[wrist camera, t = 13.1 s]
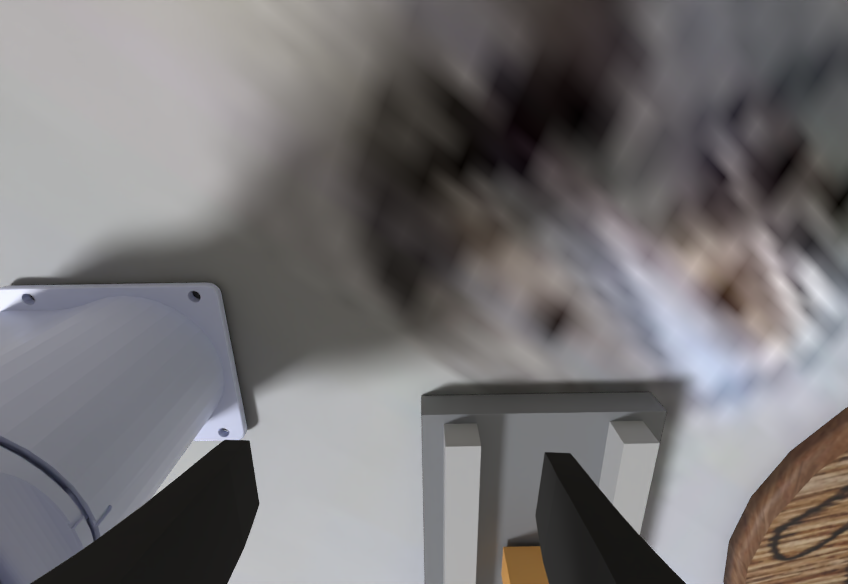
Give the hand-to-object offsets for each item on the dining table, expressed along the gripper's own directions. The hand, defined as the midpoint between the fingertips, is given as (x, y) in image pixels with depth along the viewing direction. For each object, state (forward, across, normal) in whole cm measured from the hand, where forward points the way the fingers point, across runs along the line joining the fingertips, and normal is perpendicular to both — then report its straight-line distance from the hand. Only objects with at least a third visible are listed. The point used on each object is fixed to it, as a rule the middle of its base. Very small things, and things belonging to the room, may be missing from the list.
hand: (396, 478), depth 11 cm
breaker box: (+10, -6, +11) cm, 16 cm away
